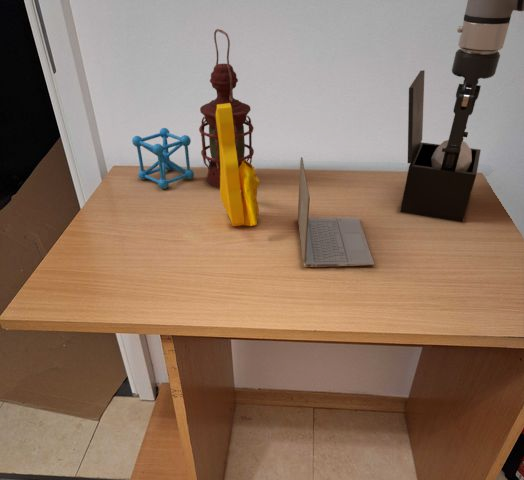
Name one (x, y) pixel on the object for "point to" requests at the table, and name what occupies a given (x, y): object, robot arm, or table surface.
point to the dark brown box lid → (415, 115)
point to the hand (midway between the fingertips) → (446, 176)
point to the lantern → (224, 84)
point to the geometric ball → (463, 159)
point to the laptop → (329, 236)
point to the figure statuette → (235, 174)
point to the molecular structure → (163, 157)
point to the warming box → (438, 186)
